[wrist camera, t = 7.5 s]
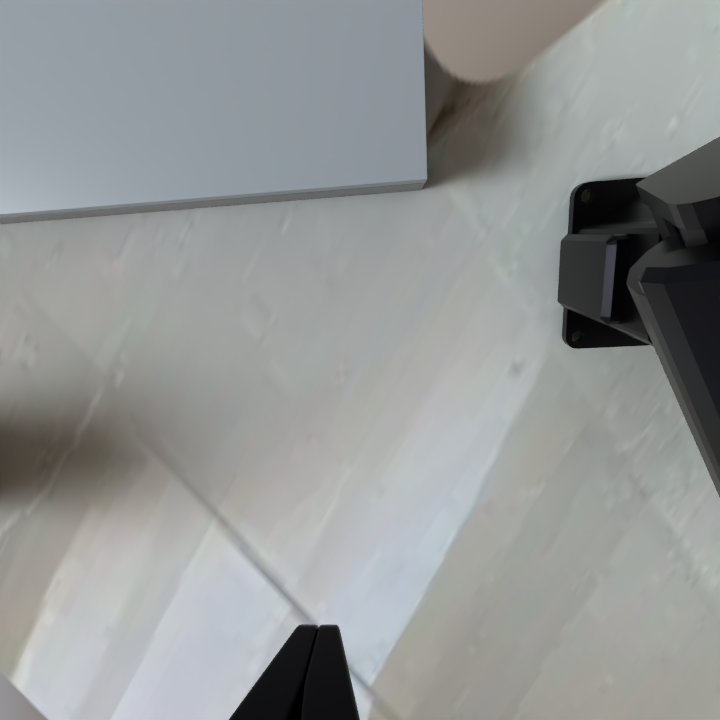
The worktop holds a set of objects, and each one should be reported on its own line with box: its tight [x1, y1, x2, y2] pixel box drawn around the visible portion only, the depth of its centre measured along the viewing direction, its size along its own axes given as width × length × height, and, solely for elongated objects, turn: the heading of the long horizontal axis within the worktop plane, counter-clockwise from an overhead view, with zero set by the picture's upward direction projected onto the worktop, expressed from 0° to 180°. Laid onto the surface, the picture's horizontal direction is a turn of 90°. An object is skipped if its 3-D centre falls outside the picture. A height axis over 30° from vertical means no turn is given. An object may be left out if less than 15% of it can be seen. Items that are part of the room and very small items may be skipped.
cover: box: [0, 0, 427, 217], centre depth 15 cm, size 20×8×1 cm, turn 94°
